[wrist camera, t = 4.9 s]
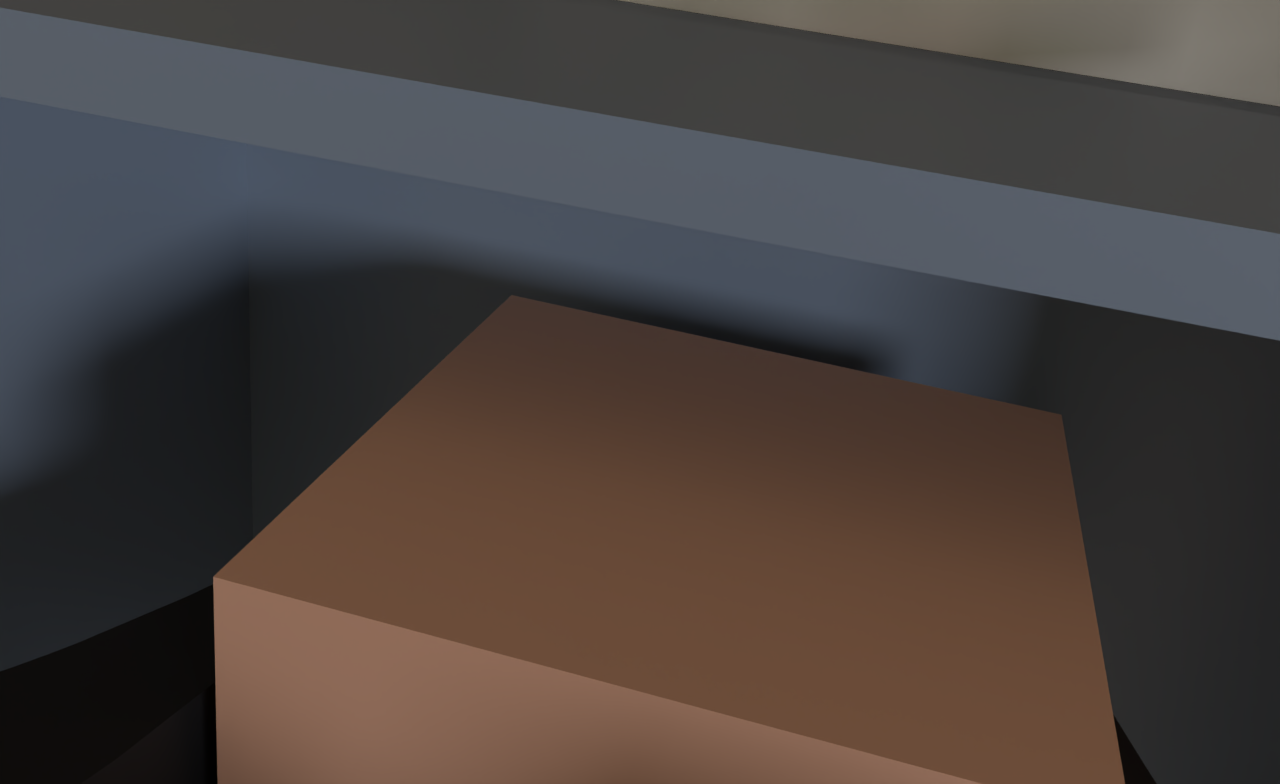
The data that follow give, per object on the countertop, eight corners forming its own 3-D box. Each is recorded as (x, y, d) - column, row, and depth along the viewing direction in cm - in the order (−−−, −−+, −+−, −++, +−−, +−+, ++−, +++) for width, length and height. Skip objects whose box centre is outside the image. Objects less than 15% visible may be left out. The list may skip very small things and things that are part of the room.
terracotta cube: (1061, 414, 10) (1131, 824, 6) (926, 843, 13) (905, 1383, 8) (511, 295, 11) (214, 575, 7) (471, 717, 13) (224, 1142, 9)
